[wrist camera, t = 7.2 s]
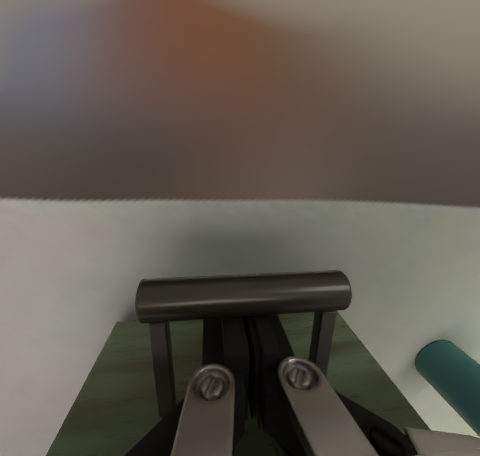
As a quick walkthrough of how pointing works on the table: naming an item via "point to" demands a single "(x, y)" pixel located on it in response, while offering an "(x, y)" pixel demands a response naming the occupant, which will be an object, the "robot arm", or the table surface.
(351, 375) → the drawer
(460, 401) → the glue stick
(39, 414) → the table surface
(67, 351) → the table surface
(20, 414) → the table surface
